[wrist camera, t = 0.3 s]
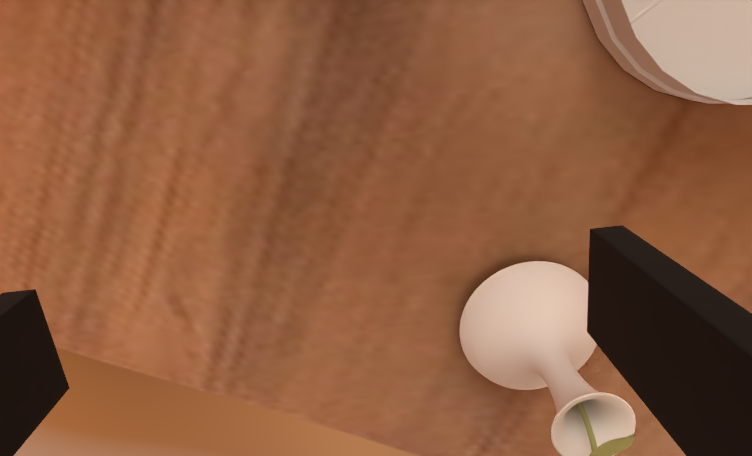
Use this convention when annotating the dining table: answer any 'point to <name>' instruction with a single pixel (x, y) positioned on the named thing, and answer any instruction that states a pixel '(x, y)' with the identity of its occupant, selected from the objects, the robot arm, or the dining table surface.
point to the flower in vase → (545, 352)
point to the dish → (681, 45)
